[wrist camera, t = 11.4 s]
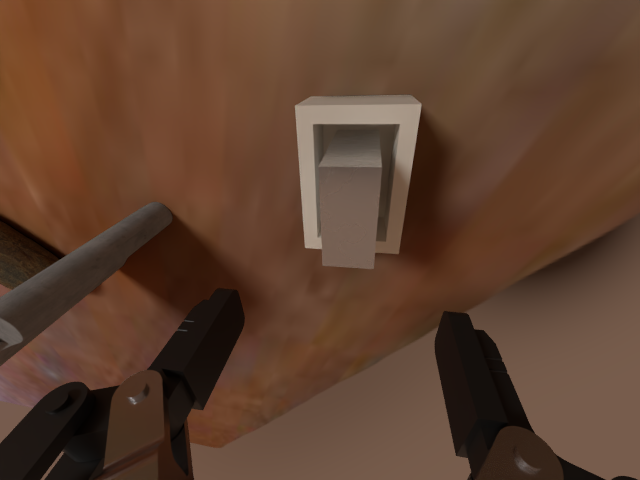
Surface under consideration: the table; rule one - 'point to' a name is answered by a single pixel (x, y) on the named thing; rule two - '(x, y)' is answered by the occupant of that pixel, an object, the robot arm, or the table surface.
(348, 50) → the table surface
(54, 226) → the table surface
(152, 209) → the hip flask
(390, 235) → the hollow off-white angular block
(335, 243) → the tall brushed metal block
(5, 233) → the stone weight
